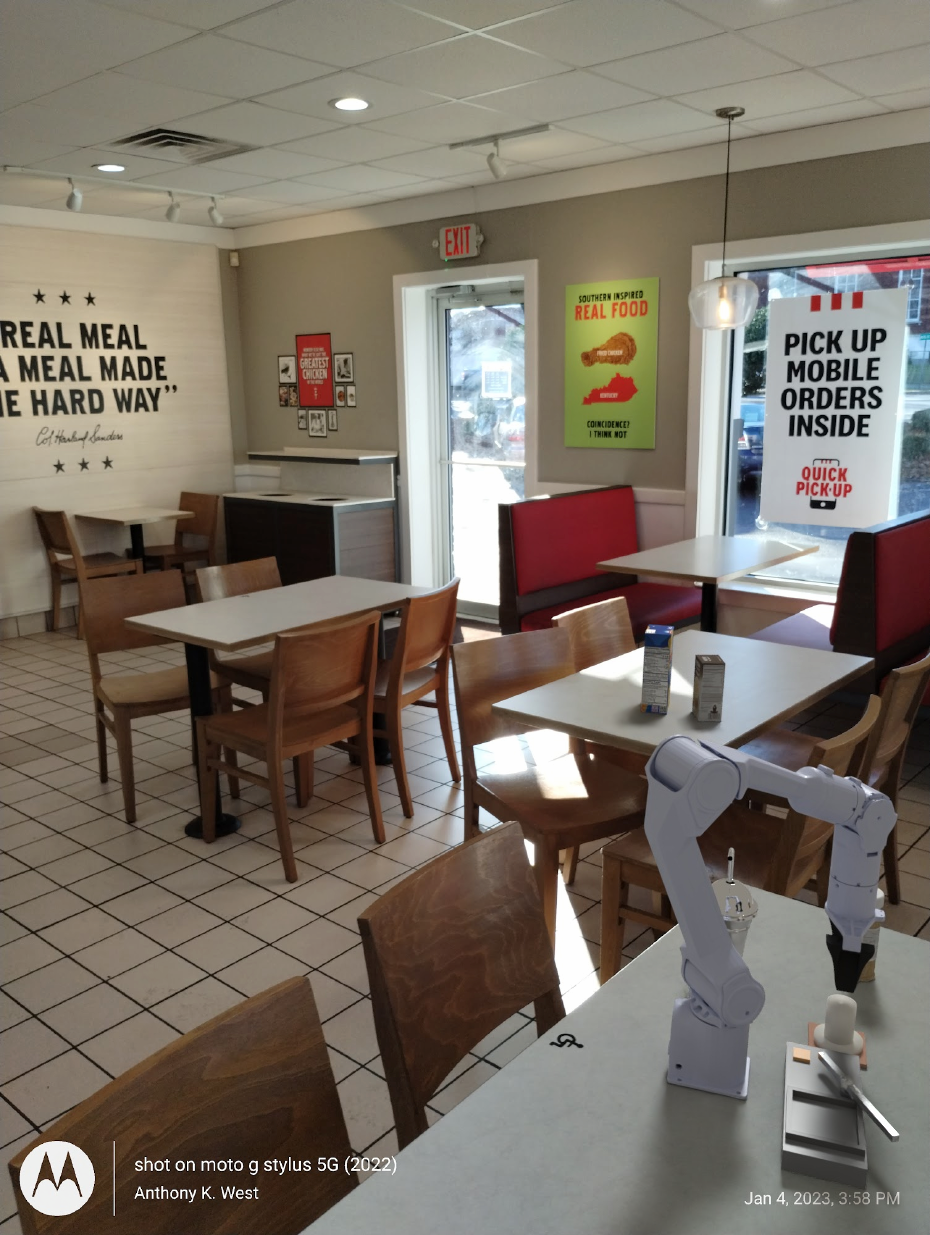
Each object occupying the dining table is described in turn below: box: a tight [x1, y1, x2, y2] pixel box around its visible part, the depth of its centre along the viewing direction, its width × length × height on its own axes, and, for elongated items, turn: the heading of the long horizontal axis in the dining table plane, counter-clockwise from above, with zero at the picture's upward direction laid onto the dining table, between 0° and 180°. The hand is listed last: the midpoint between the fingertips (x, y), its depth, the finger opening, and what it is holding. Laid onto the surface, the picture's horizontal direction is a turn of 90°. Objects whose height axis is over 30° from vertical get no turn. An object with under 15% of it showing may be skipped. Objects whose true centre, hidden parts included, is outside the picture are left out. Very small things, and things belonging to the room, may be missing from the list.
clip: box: [818, 1052, 900, 1143], centre depth 115 cm, size 1×14×2 cm, turn 12°
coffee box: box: [691, 654, 726, 722], centre depth 266 cm, size 9×6×16 cm
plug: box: [814, 993, 863, 1056], centre depth 130 cm, size 6×6×6 cm
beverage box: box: [640, 624, 675, 716], centre depth 272 cm, size 7×11×22 cm, turn 165°
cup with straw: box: [711, 847, 760, 958], centre depth 146 cm, size 8×9×20 cm
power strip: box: [780, 1041, 869, 1191], centre depth 117 cm, size 9×20×3 cm, turn 161°
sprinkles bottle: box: [858, 887, 885, 982], centre depth 146 cm, size 5×5×13 cm
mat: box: [807, 1021, 868, 1069], centre depth 130 cm, size 7×7×1 cm
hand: (843, 974), depth 128 cm, fingers open, 7 cm apart
